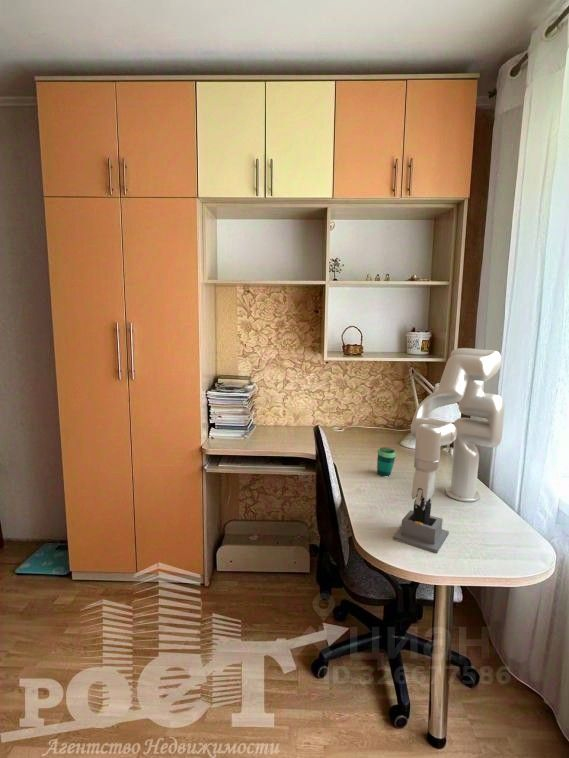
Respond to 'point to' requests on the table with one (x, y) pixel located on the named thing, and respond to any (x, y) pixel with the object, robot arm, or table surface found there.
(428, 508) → the two-way radio
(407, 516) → the charging dock
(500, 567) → the table surface
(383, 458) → the cup
